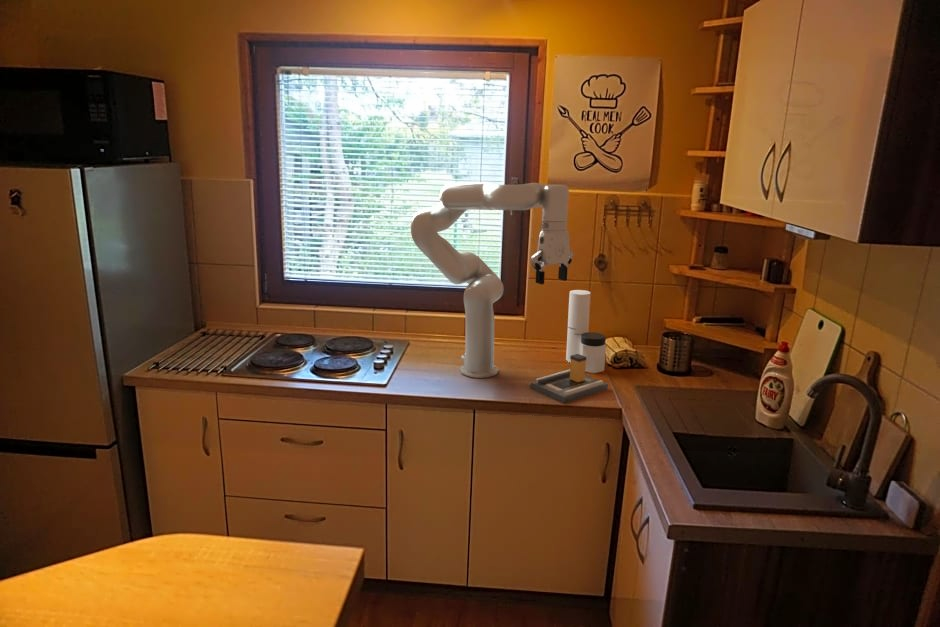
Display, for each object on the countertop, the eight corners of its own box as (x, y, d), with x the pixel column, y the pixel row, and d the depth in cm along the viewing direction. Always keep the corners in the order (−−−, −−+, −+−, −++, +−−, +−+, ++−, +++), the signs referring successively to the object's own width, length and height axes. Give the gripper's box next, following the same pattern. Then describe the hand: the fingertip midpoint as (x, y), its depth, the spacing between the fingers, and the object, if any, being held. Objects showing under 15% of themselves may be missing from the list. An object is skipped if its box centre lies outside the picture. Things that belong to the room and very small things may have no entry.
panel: (530, 388, 198) (530, 381, 198) (572, 375, 209) (573, 369, 209) (564, 403, 187) (564, 397, 186) (607, 389, 198) (607, 383, 197)
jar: (590, 375, 210) (592, 340, 207) (573, 367, 217) (575, 334, 213) (609, 370, 215) (611, 336, 212) (592, 363, 221) (594, 330, 218)
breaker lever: (569, 378, 200) (570, 355, 198) (576, 376, 202) (577, 353, 200) (577, 382, 197) (579, 358, 195) (585, 380, 199) (586, 357, 197)
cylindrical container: (571, 356, 229) (575, 289, 222) (589, 360, 225) (594, 291, 218) (562, 361, 223) (565, 292, 217) (580, 365, 219) (584, 295, 213)
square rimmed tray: (535, 381, 198) (535, 378, 198) (571, 371, 207) (571, 368, 207) (566, 395, 187) (566, 392, 187) (603, 384, 197) (603, 381, 196)
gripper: (541, 229, 182) (539, 287, 187) (583, 226, 193) (579, 280, 197) (524, 226, 188) (522, 282, 193) (565, 223, 198) (562, 276, 203)
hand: (551, 281), depth 195 cm, fingers open, 9 cm apart
